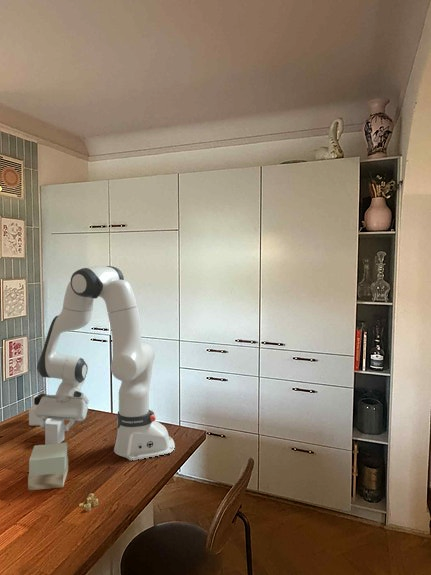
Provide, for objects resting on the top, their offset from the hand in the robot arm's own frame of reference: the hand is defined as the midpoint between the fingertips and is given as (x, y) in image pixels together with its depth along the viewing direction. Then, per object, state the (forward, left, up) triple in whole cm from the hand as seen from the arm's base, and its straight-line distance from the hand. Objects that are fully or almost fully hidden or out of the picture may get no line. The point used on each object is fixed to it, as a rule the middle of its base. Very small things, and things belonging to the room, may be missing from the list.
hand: (54, 429), depth 152 cm
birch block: (-4, +27, -5) cm, 28 cm away
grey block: (0, -1, -5) cm, 5 cm away
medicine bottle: (+10, -21, -5) cm, 23 cm away
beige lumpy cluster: (-19, +43, -6) cm, 47 cm away
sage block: (-4, +28, 0) cm, 28 cm away
